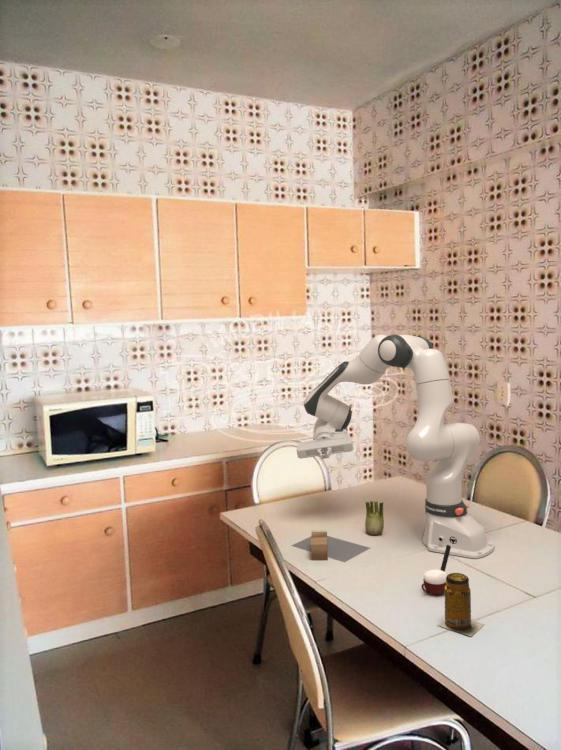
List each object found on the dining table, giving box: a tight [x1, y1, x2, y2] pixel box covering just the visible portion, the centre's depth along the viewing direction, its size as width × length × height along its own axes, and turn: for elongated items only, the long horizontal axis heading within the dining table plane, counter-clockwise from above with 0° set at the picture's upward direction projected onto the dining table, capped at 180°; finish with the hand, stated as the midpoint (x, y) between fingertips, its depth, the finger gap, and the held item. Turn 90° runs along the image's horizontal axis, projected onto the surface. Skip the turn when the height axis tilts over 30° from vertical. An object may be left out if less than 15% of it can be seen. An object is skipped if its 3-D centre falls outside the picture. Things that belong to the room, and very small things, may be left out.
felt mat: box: [291, 535, 371, 563], centre depth 197 cm, size 22×14×1 cm, turn 47°
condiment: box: [438, 572, 485, 637], centre depth 145 cm, size 7×8×12 cm
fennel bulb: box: [364, 500, 385, 537], centre depth 206 cm, size 6×5×12 cm
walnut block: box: [310, 529, 329, 561], centre depth 192 cm, size 5×5×12 cm
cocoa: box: [421, 545, 451, 596], centre depth 162 cm, size 10×6×12 cm, turn 93°
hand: (324, 456), depth 210 cm, fingers closed
